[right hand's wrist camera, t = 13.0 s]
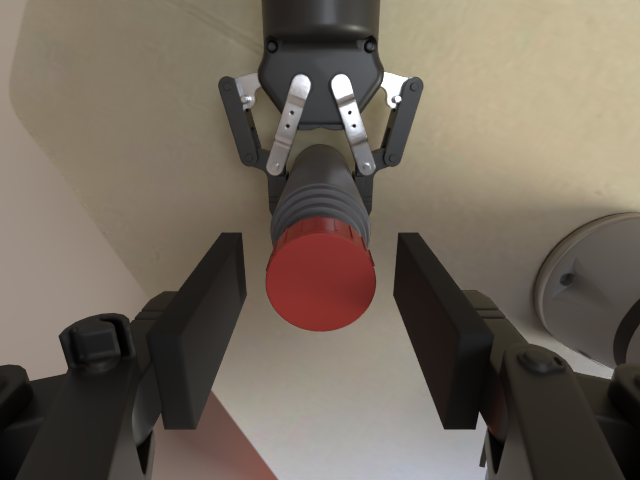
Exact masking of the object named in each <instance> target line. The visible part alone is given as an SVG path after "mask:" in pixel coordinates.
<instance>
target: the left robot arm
mask: <svg viewBox="0 0 640 480" xmlns="http://www.w3.org/2000/svg"><path fill="white" fill-rule="evenodd" d="M379 13H380V0H262V16H263V36H264V54H263V58H262V61H261V63H260V65H259V68H258V72H256V73H252V74H248V75H245V76H241V77H237V78H231V77H223V78H221V79H220V81H219V85H218V86H219V91H220V94H221V97H222V100H223V104H224V107H225V110H226V113H227V116H228V120H229V123H230V126H231V129H232V133H233V136H234V139H235V142H236V146H237V149H238V152H239V155H240V158H241V161H242V163H243V164H244V165H246V166H253V167H256V168H259V169H261V170H263V171H264V172H265V173H266V174H267V177H268V189H269V209H270V212H271V214H272V216H273V214H274V212H275V209H276V207H277V204H278V202H279V200H280V197H281V195H282V192H283V190H284V188H285V185H286V183H287V180H288V178H289V171H286V162H287V160H288V157H289V154H290V151H291V148H292V145H293V142H294V139H295V137H296V134H297V131H298V130H312V129H316V128H319V127H323V128H326V129H330V130H343V129H344V131H345V134H346V137H347V140H348V143H349V145H350V148H351V151H352V154H353V157H354V160H355V171H352V178H353V180H354V182H355V185H356V187H357V189H358V192H359V194H360V197H361V199H362V201H363V204H364V206H365V208H366V211H367V213H368V216H369V214H370V212H371V210H372V190H373V177H374V175H375V173H376V172H377V171H378V170H380V169H383V168H386V167H388V166H390V167H394V166H396V165H398V164H399V163H400V161H401V158H402V155H403V151H404V148H405V145H406V142H407V139H408V135H409V132H410V129H411V126H412V122H413V119H414V116H415V113H416V110H417V106H418V103H419V100H420V97H421V93H422V90H423V82H422V80H421V79H420V78H418V77H410V78H405V77H401V76H398V75H394V74H390V73H386V72H384V68H383V65H382V63H381V61H380V58H379V54H378V33H379ZM261 87H262V88H263V89H264V91H265V92H266V94H267V95H268V96H269V98H270V99H271V101H272V102H273V103H274V105H275V106H276V107H277V109H278V110H279V112H280V113H281V114H282V116H281V119H280V122H279V125H278V128H277V131H276V135H275V138H274V143H273V146H272V149H271V152H270V151H267V150H264V149H262V148H261V145H260V142H259V138H258V135H257V131H256V128H255V124H254V121H253V117H252V114H251V110H250V108H253V107H254V106H255V105H256V103H257V97H256V95H257V91H258V90H259V89H260V88H261ZM380 87H381V88H382V89H383V90H384V92H385V103H386V105H387V106H388V107H389V108H392V109H391V113H390V116H389V120H388V123H387V127H386V130H385V134H384V137H383V141H382V144H381V148H380V149H377V150H374V151H372V152H371V150H370V146H369V143H368V139H367V135H366V132H365V129H364V125H363V122H362V119H361V116H360V114H361V113H362V111H363V110H364V109H365V107H366V106H367V104H368V103H369V102H370V100H371V99H372V97H373V96H374V95H375V93H376V92H377V91H378V89H379V88H380Z"/></svg>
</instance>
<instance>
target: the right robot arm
mask: <svg viewBox="0 0 640 480" xmlns="http://www.w3.org/2000/svg"><path fill="white" fill-rule="evenodd" d="M246 296H247V292H246V280H245V267H244V255H243V243H242V233H221V235H220V236H219V237H218V239H217V240H216V241H215V243H214V244H213V245H212V247H211V248H210V249H209V251H208V252H207V253H206V255H205V256H204V257H203V259H202V260H201V261H200V263H199V264H198V265H197V267H196V268H195V269H194V271H193V272H192V273H191V275H190V276H189V277H188V279H187V280H186V281H185V283H184V284H183V285H182V287H181V288H180V289H179V291H164V292H162V293H161V294H159V295H157V296H156V297H154V298H152V299H151V300H150V301H149V302H148V303H147V304H146V305H145V307H144V308H143V309H142V312H139V314H138V315H137V316H136V317H135V320H133V321H132V322H131V323H130V321H129V319H128V318H127V317H126V316H124V315H122V314H116V313H107V314H99V315H95V316H91V317H87V318H85V319H82V320H80V321H77V322H75V323H74V324H72V325H70V326H69V327H67V328H66V329H65V330H64V331H63V332H62V333H61V334H60V335H59V339H60V342H61V346H62V349H63V352H64V355H65V359H66V362H67V365H68V371H67V373H66V374H62V375H58V376H53V377H48V378H43V379H38V380H33V381H29V378H28V375H27V373H26V370H25V369H24V368H22V367H21V366H19V365H3V366H0V480H151V476H152V468H153V460H154V452H155V436H154V431H153V427H154V425H155V423H156V421H157V419H158V417H159V415H160V413H161V414H162V419H163V424H164V429H196V428H197V425H198V422H199V419H200V417H201V414H202V412H203V409H204V406H205V404H206V401H207V398H208V396H209V393H210V391H211V388H212V385H213V383H214V380H215V377H216V375H217V372H218V369H219V367H220V364H221V362H222V359H223V356H224V354H225V351H226V348H227V346H228V343H229V340H230V338H231V335H232V333H233V330H234V327H235V325H236V322H237V319H238V317H239V314H240V311H241V309H242V306H243V304H244V301H245V298H246ZM393 296H394V298H395V301H396V304H397V306H398V309H399V311H400V314H401V317H402V319H403V322H404V325H405V327H406V330H407V333H408V335H409V338H410V340H411V343H412V346H413V348H414V351H415V354H416V356H417V359H418V362H419V364H420V367H421V369H422V372H423V375H424V377H425V380H426V383H427V385H428V388H429V391H430V393H431V396H432V398H433V401H434V404H435V406H436V409H437V412H438V414H439V417H440V420H441V422H442V425H443V427H444V429H476V424H477V419H478V414H479V411H480V413H481V415H482V417H483V419H484V421H485V423H486V425H487V431H486V435H485V440H484V445H483V449H482V454H481V458H480V465H479V466H480V467H485V463H486V459H487V467H488V469H487V471H486V476H485V480H640V213H622V214H615V215H611V216H607V217H604V218H601V219H598V220H595V221H593V222H591V223H589V224H587V225H585V226H583V227H581V228H580V229H578V230H576V231H575V232H573V233H572V234H571V235H569V236H568V237H567V238H566V239H564V240H563V241H562V242H561V243H560V244H559V245H558V246H557V247H556V248H555V249H554V250H553V252H552V253H551V254H550V255H549V257H548V258H547V259H546V261H545V263H544V264H543V266H542V268H541V270H540V272H539V275H538V277H537V281H536V284H535V290H534V305H535V310H536V313H537V316H538V318H539V320H540V321H541V323H542V325H543V326H544V327H545V328H546V329H547V330H548V331H549V332H550V333H551V334H552V335H553V336H554V337H555V338H556V339H557V340H558V341H559V342H561V343H562V344H563V345H565V346H567V347H568V348H570V349H571V350H573V351H575V352H577V353H579V354H581V355H582V356H584V357H586V358H588V359H589V358H590V360H591V359H592V360H591V361H593V360H595V361H597V362H599V363H601V364H603V365H605V366H607V367H609V368H612V369H614V373H613V375H612V378H611V380H610V379H605V378H600V377H595V376H590V375H585V374H581V373H577V372H573V370H572V368H571V367H570V365H569V364H568V363H567V361H566V360H565V359H563V358H562V357H560V356H559V355H558V354H556V353H555V352H553V351H550V350H548V349H546V348H544V347H541V346H537V345H533V344H529V343H528V342H527V341H526V340H525V339H524V337H523V336H522V335H521V334H520V333H519V332H518V330H517V329H516V328H515V327H514V326H513V325H512V324H511V322H510V321H509V320H508V319H506V317H505V315H504V314H503V313H502V312H501V311H500V310H499V308H498V307H497V306H496V305H495V304H494V303H493V302H492V300H491V299H490V298H488V297H486V296H485V295H483V294H482V293H480V292H478V291H477V290H461V289H460V288H459V287H458V285H457V284H456V283H455V281H454V280H453V279H452V277H451V276H450V275H449V273H448V272H447V271H446V269H445V268H444V267H443V265H442V264H441V263H440V261H439V260H438V259H437V257H436V256H435V255H434V253H433V252H432V251H431V249H430V248H429V247H428V245H427V244H426V243H425V241H424V240H423V239H422V237H421V236H420V235H419V233H398V243H397V255H396V267H395V280H394V292H393ZM595 361H593V362H595ZM597 362H595V363H597ZM597 364H598V363H597ZM599 365H600V364H599ZM601 366H602V365H601ZM603 367H604V366H603ZM605 368H606V367H605Z"/></svg>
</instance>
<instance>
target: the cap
mask: <svg viewBox="0 0 640 480" xmlns="http://www.w3.org/2000/svg"><path fill="white" fill-rule="evenodd" d="M373 266H375V265H374V262H373V259H372V256H371V253H370V250H368V249H367V246H366V244H365V241H364V238H363V236H360V235H359V234H358V233H357V231H356V230H354V229H353V228H352V226H351V225H347V224H346V223H344V222H342V221H339V220H336V218H334V219H332V218H326V217H319V216H317V217H316V218H309V219H305V220H300V222H298V223H296V224H294V225H292V226H291V227H290V228H286V230H285V232H284V233H283V234H282V235H281V237H280V238H279V239H278V241H277V240H276V242H275V245H274V248H273V251H272V254H271V256H270V259H269V262H268V265H267V268H266V271H267V273H266V290H267V295H268V298H269V300H270V302H271V304H272V306H273V307H274V309H275V310H276V311H277V313H278V314H279V315H280V316H281V317H282V318H284V319H285V320H286V321H288V322H289V323H291V324H293V325H295V326H297V327H299V328H302V329H305V330H310V331H332V330H336V329H339V328H342V327H345V326H347V325H349V324H351V323H352V322H354V321H355V320H357V319H358V318H359V317H360V316H361V315H362V314H363V313H364V312H365V311H366V310H367V308H368V307H369V305H370V303H371V301H372V299H373V296H374V293H375V288H376V276H375V271H374V268H373Z"/></svg>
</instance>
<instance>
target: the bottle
mask: <svg viewBox="0 0 640 480" xmlns="http://www.w3.org/2000/svg"><path fill="white" fill-rule="evenodd" d="M317 216H319V217H326V218H332V219H334V218H336V220H339V221H342V222H344V223H346V224H347V225H351V226H352V228H353V229H354V230H356V231H357V233H358V234H359V235H360V236H363V238H364V241H365V244H366V246H367V249H368V245H369V241H370V233H371V227H370V220H369V216H368V213H367V211H366V208H365V206H364V204H363V201H362V199H361V197H360V194H359V192H358V189H357V187H356V185H355V182H354V180H353V178H352V175H351V173H350V171H349V168H348V166H347V164H346V161H345V159H344V157H343V156H342V154H341V153H340V152H339V151H337V150H336V149H335V148H333V147H331V146H328V145H323V144H319V145H313V146H310V147H308V148H306V149H305V150H303V151H302V152H301V153H300V154H299V156H298V157H297V159H296V161H295V164H294V166H293V168H292V171H291V173H290V176H289V178H288V180H287V183H286V185H285V188H284V190H283V192H282V195H281V197H280V200H279V202H278V204H277V207H276V209H275V212H274V214H273V217H272V221H271V238H272V244H273V248H274V245H275V242H276V240H277V241H278V239H279V238H280V237H281V235H282V234H283V233H284V232H285V230H286V228H290V227H291V226H292V225H294V224H296V223H298V222H300V220H305V219H309V218H316V217H317Z"/></svg>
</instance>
